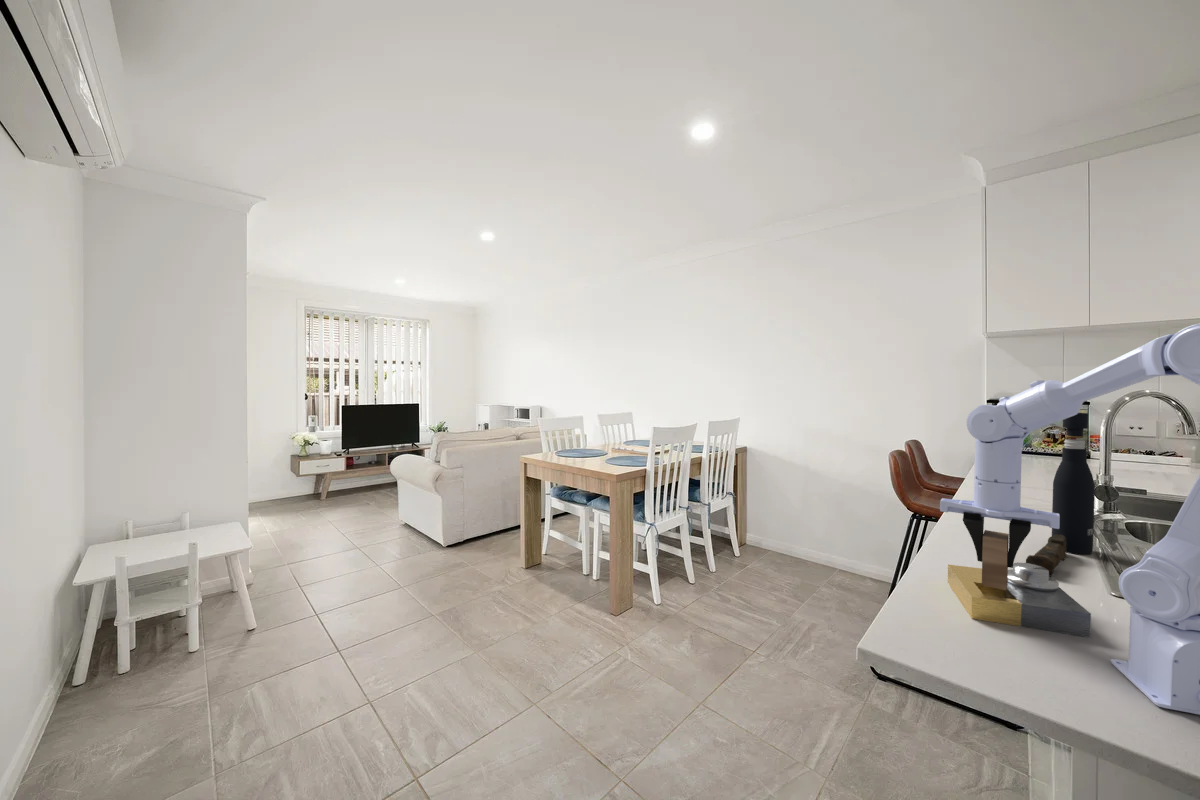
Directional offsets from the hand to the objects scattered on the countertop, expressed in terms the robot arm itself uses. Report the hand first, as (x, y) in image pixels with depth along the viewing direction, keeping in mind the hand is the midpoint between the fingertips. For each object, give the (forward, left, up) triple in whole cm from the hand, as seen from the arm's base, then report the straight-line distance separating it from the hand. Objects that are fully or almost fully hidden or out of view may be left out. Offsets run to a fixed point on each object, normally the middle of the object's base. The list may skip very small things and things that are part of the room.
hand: (995, 562), depth 76 cm
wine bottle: (+40, -25, -8) cm, 48 cm away
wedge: (0, 0, -3) cm, 3 cm away
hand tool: (+29, -17, -9) cm, 35 cm away
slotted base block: (+3, -3, -8) cm, 9 cm away
